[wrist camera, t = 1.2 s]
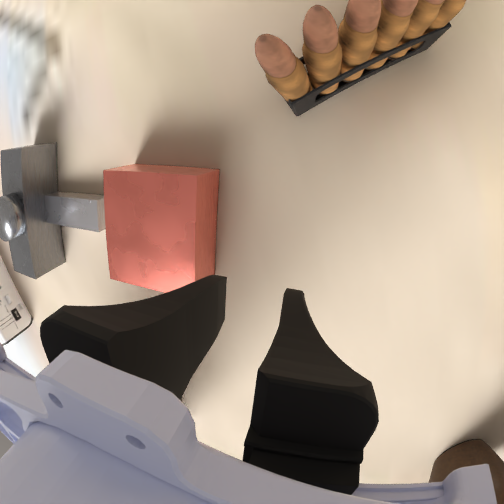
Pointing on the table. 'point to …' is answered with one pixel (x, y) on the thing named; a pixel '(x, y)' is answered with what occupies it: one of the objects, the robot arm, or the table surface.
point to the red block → (160, 224)
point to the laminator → (11, 308)
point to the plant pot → (471, 463)
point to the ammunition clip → (351, 46)
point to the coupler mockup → (40, 209)
